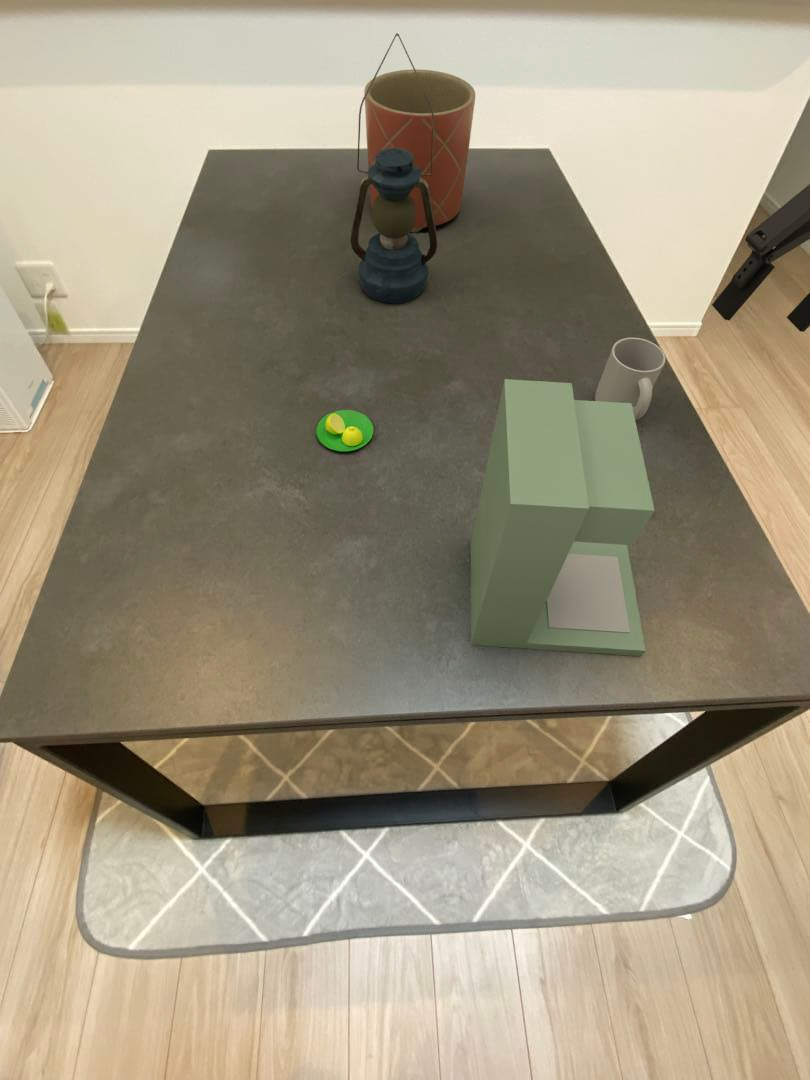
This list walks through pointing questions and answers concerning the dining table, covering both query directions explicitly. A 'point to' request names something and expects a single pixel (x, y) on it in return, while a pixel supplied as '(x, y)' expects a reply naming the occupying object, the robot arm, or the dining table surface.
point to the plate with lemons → (344, 430)
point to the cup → (631, 374)
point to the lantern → (394, 223)
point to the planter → (423, 133)
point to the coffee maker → (559, 524)
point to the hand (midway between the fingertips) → (758, 319)
